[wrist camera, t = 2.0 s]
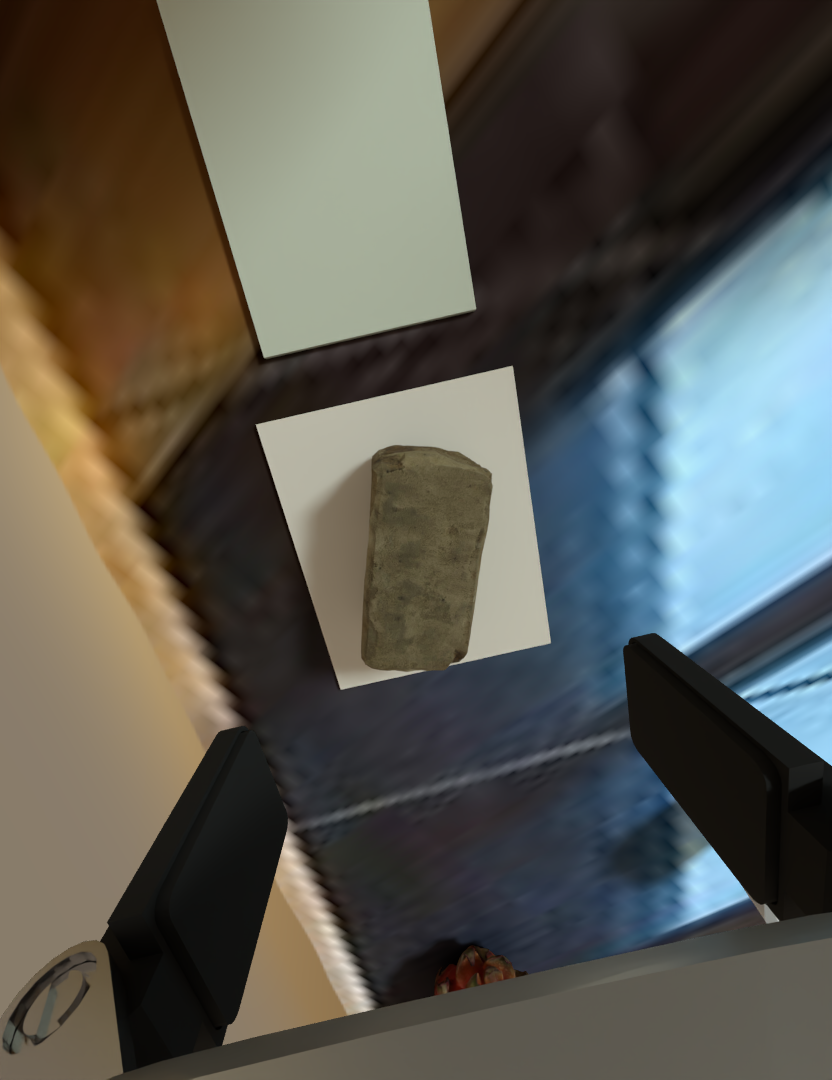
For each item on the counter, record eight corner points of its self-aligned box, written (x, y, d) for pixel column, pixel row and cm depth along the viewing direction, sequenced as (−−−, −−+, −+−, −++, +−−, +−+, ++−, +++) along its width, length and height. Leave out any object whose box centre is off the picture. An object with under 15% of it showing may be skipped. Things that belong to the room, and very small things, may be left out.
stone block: (364, 630, 25) (357, 678, 20) (372, 440, 22) (367, 444, 17) (456, 634, 25) (471, 682, 21) (477, 448, 22) (500, 454, 17)
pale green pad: (159, 3, 17) (154, -7, 16) (416, -59, 17) (416, -71, 16) (266, 359, 21) (263, 357, 20) (474, 311, 21) (476, 309, 20)
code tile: (257, 424, 21) (255, 424, 21) (511, 366, 21) (512, 365, 21) (341, 687, 26) (340, 689, 26) (549, 641, 26) (550, 643, 26)
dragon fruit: (472, 888, 34) (484, 952, 39) (395, 985, 30) (419, 1045, 35) (562, 993, 28) (563, 1054, 33) (482, 1137, 23) (497, 1182, 28)
